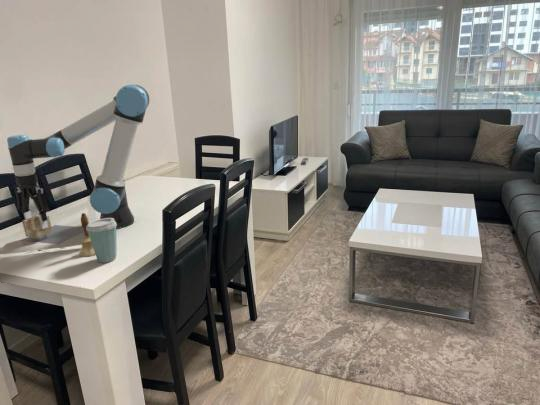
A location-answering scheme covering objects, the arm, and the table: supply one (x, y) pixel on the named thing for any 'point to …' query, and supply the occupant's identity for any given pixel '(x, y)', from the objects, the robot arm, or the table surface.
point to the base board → (58, 234)
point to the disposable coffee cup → (103, 238)
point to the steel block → (40, 237)
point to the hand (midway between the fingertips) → (37, 227)
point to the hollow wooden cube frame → (36, 227)
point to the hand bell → (86, 239)
